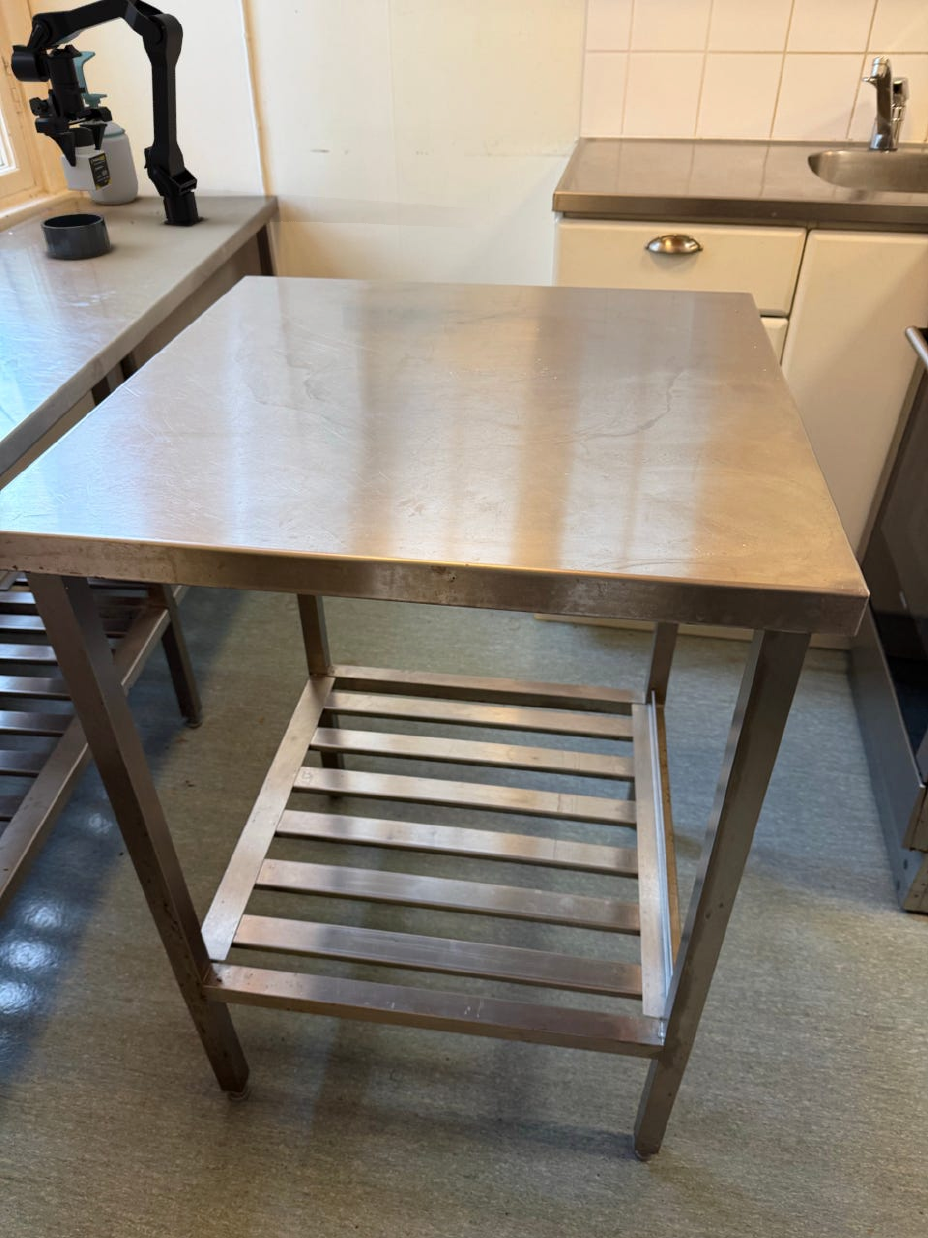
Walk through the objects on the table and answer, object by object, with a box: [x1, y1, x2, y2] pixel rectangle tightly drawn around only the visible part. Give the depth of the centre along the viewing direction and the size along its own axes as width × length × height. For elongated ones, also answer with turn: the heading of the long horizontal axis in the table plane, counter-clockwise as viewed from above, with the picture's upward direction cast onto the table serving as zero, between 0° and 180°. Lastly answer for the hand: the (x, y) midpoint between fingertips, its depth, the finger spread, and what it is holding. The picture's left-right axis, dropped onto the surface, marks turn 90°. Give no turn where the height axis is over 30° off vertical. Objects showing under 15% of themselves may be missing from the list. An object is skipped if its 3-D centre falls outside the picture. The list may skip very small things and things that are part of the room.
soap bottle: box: [74, 50, 139, 206], centre depth 211 cm, size 12×12×31 cm
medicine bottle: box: [59, 126, 112, 192], centre depth 200 cm, size 7×7×12 cm
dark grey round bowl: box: [40, 212, 112, 261], centre depth 183 cm, size 12×12×6 cm
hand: (85, 162), depth 201 cm, fingers closed on medicine bottle, 7 cm apart
